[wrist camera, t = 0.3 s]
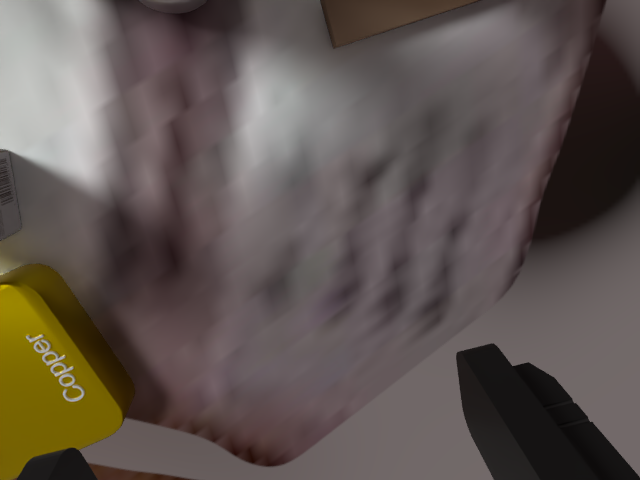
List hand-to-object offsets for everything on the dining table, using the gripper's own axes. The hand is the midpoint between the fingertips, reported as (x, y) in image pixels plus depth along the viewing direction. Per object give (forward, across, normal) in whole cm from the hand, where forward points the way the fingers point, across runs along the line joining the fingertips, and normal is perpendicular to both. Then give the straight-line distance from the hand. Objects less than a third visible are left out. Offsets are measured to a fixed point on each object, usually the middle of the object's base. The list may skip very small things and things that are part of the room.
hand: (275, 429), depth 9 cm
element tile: (+26, +25, +12) cm, 39 cm away
